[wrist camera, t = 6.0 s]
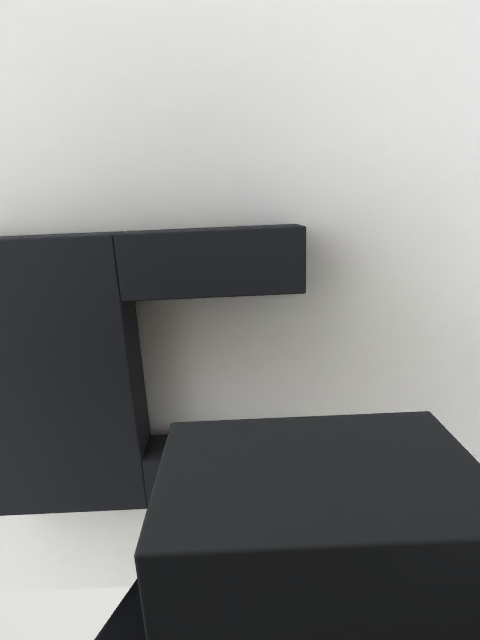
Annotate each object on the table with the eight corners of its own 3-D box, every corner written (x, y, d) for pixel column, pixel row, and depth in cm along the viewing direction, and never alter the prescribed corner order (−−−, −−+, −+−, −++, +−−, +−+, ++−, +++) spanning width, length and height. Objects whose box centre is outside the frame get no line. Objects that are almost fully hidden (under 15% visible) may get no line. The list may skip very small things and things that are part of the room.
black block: (408, 605, 9) (492, 795, 6) (190, 615, 9) (169, 812, 6) (429, 409, 8) (552, 536, 5) (171, 421, 7) (132, 555, 5)
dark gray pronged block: (297, 472, 19) (304, 502, 17) (14, 485, 19) (-11, 517, 17) (297, 223, 16) (306, 226, 14) (-46, 238, 16) (-84, 242, 14)
